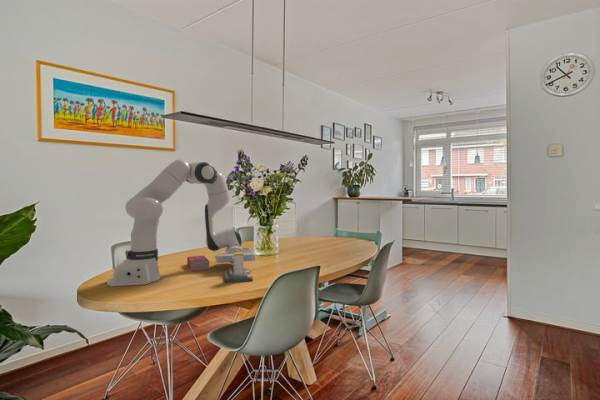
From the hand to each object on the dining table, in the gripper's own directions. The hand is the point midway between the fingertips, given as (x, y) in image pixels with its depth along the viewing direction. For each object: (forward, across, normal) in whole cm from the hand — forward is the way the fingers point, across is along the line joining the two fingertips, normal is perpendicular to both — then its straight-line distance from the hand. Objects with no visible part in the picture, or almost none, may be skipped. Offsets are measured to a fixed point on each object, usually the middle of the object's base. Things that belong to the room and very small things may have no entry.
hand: (237, 260), depth 175 cm
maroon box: (-25, -20, +8) cm, 33 cm away
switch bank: (+5, 0, +7) cm, 9 cm away
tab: (+9, 0, +5) cm, 11 cm away
